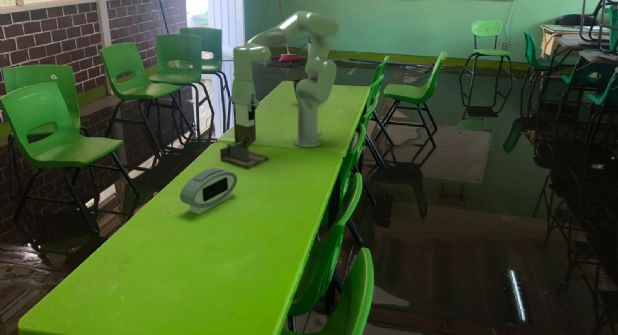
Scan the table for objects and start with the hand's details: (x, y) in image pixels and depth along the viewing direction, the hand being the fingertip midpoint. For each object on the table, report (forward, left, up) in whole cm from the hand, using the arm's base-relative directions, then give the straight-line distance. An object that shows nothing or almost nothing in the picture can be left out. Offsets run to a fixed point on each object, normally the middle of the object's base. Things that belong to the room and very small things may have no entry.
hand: (244, 117), depth 205 cm
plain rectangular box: (0, 0, -3) cm, 3 cm away
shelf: (0, -1, -20) cm, 20 cm away
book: (-17, -16, -20) cm, 31 cm away
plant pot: (-91, -35, -20) cm, 100 cm away
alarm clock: (+39, +19, -20) cm, 48 cm away
